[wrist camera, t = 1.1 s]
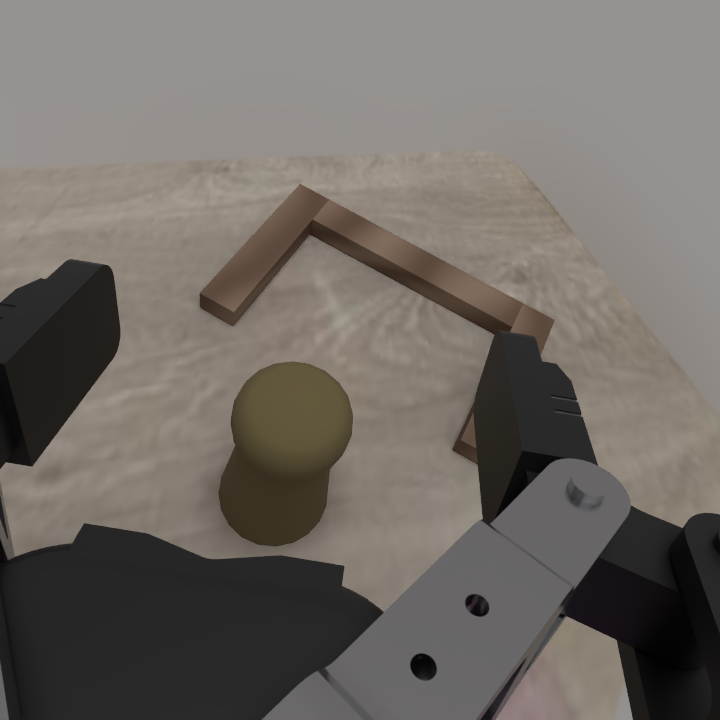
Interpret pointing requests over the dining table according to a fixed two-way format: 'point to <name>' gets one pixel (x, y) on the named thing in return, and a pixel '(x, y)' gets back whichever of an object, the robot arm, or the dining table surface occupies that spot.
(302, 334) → the dining table surface
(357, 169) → the dining table surface
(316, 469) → the cork
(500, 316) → the walnut cradle
